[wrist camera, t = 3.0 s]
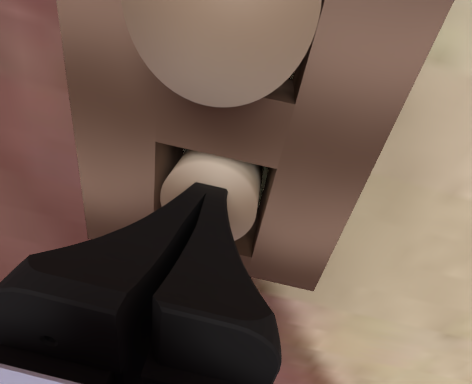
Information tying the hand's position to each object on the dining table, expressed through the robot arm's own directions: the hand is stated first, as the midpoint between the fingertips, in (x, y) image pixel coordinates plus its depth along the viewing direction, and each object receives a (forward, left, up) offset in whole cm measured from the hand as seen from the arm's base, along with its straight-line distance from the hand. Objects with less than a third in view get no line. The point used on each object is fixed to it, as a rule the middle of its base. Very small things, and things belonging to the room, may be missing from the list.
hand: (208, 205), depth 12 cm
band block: (+3, 0, -4) cm, 5 cm away
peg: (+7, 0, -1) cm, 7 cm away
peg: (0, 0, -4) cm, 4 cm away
